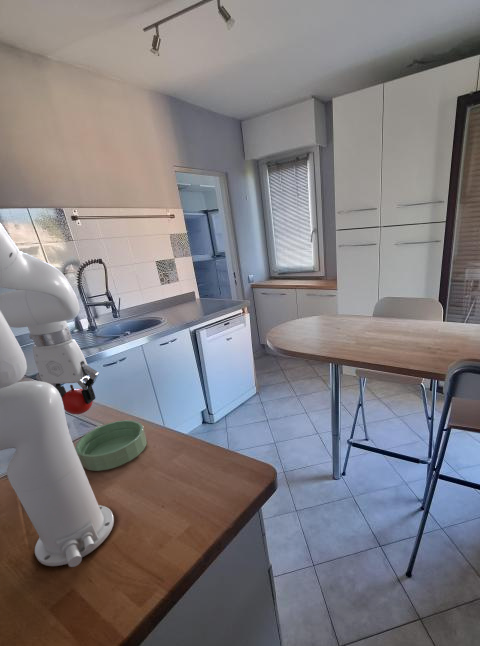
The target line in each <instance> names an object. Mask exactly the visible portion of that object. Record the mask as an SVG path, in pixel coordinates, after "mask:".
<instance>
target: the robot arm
mask: <svg viewBox="0 0 480 646" xmlns="http://www.w3.org/2000/svg"><path fill="white" fill-rule="evenodd" d="M0 288H1V289H9V290H10V291H5V292H2V293H1V294H0V451H4V450H8V449H16V450H15V451H14V453H13V455H12V456H11V458H10V460H9V462H8V465H7V468H6V475H7V479H8V482H9V484H10V486H11V487H12V488H13V490H14V492H15V494H16V496H17V498H18V500H19V501H20V503H21V505H22V507H23V510H24V511H25V513H26V515H27V517H28V518H29V520H30V522H31V524H32V526H33V527H34V530H35V531H36V533H37V535H38V537H39V538H38V539H37V541H36V543H35V546H34V554H35V557H36V559H37V561H38V562H39V563H40V564H42V565H43V566H48V567H58V566H59V567H60V566H63V565H68V567H69V568H75V567H77V566H79V565H80V564H81V562H82V561H83V558H84V557H86V556H87V555H89V554H90V553H92V552H93V551H94V550H96V549H97V548H98V547H100V546H101V544H102V543H103V542H104V541H106V539H107V538H108V537H109V535H110V533H111V531H112V530H113V527H114V523H115V517H114V515H113V514H114V513H113V511H112V510H111V509H110V508H109V507H107V506H105V505H101V504H99V503H98V501H97V498H96V495H95V493H94V491H93V489H92V485H91V484H90V481H89V479H88V476H87V474H86V471H85V468H84V467H83V466H82V464H81V462H80V459H79V457H78V455H77V452H76V450H75V448H76V446H75V445H74V443H73V440H72V436H71V433H70V431H69V426H68V421H67V417H66V411H65V410H64V405H63V401H62V398H63V396H64V394H65V393H66V392H67V390H66V387H64V385H62V384H76V383H77V384H78V385H79V387H80V388H81V389H83V390H82V391H81V392H82V395H83V397H84V400H85V403H86V404H89V403H91V402H92V401H94V400H95V399H96V395H95V391H94V388H93V385H94V383H96V381H97V379H98V376H99V375H100V373H99V371H97V370H96V369H94V368H92V367H91V366H90V365H88V362H87V360H86V357H85V355H84V353H83V351H82V350H81V347H80V346H79V344H78V342H77V341H76V340H75V339H73V336H72V333H71V331H70V328H69V325H68V322H67V321H71V320H73V319H75V318H77V317H78V315H79V314H80V310H81V309H80V308H81V307H80V302H79V300H78V297H77V294H76V293H75V291H74V289H73V287H72V285H71V284H70V281H69V280H68V279H67V277H66V276H65V275H64V273H63V272H62V271H61V270H60V269H58V267H55V266H54V265H52V264H50V263H48V262H46V261H44V260H43V259H40V258H38V257H36V256H34V255H31V254H28V253H26V252H23V251H21V250H20V249H19V248H18V246H17V244H16V243H15V242H14V240H13V239H12V238H11V236H10V235H9V234H8V231H7V230H6V229H5V227H4V226H3V224H2V223H1V222H0ZM11 328H17V329H18V328H19V329H21V328H27V329H28V332H29V334H28V337H29V339H30V340H33V343H34V344H33V346H32V353H33V358H34V362H35V366H36V369H37V374H36V375H35V379H36V380H24V381H21V380H22V379H23V378H24V377H25V375H26V373H27V370H28V365H27V364H28V363H27V359H26V356H25V354H24V351H23V349H22V347H21V344H19V342H18V340H17V338H16V336H15V334H14V332H13V331H12V329H11ZM92 403H93V402H92Z"/></svg>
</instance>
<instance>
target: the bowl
mask: <svg viewBox="0 0 480 646" xmlns="http://www.w3.org/2000/svg"><path fill="white" fill-rule="evenodd" d="M147 445H148V438H147V435H146V432H145V428H144V426H143V424H142V423H140V422H139V421H136V420H131V419H130V420H129V419H123V420H116V421H113V422H109V423H105V424H103V425H101V426H97V427H96V428H94V429H92V430H90V431H88V432H87V433H86V434H83V436H82V437H81V438H80V439H79V440H78V441H77V442H76V445H75V450H76V452H77V455H78V457H79V459H80V462H81V464H82V467H83V469H86V470H88V471H93V472H94V471H97V472H100V471H107V470H111V469H114V468H119V467H121V466H122V465H125V464H127V463H129V462H131V461H132V460H134V459H135V458H137V457H138V456H139V455H140V454H142V453H143V452H144V450H145V449H146V446H147Z"/></svg>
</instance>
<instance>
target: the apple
mask: <svg viewBox="0 0 480 646" xmlns="http://www.w3.org/2000/svg"><path fill="white" fill-rule="evenodd" d="M69 388H70V389H69V390H68V391H66V393H65V394H64V396H63V398H62V401H63V405H64V411H65V413H66V412H67V413H68V414H70V415H83V414H84V413H86V412H89V410H90V409H91V407H92V406H93V403H94V402H93V401H94V400H93V401H92V402H91V403H89V404H86V403H85V400H84V397H83V395H82V392H81V391H82V390H83V389H82V388H74V385H73V384H70V385H69Z"/></svg>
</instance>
